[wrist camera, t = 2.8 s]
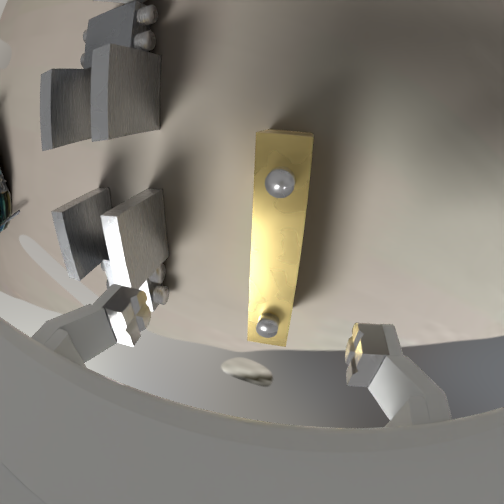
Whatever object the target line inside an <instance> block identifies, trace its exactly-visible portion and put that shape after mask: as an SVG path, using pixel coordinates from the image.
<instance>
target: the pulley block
mask: <svg viewBox="0 0 504 504" xmlns="http://www.w3.org/2000/svg"><path fill="white" fill-rule="evenodd" d="M5 182H6V180H4V177H3V174H2V172H1V169H0V232H1V231H2V230H5V229H6V228H7V227H8V225H9V222H10V220H11V219H12V218H14V217H15V216H16V215H18V214H19V212H20V210H18V211H17V212H16V213H14V214H13V215H12V216H11V194H10V192H9V190H8V188H7V185H6V183H5Z"/></svg>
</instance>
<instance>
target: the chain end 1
mask: <svg viewBox="0 0 504 504" xmlns="http://www.w3.org/2000/svg"><path fill="white" fill-rule="evenodd" d="M157 19H158V11H157V8H156V7H155V6H154V5H149V6H146V5H144V4H142V3H140V2H138V1H133V2H130V3H128V4H125V5H122V6H120V7H117V8H115V9H112V10H110V11H107V12H105V13H103V14H101V15H98V16H96V17H94V18H92V19H90V20H89V22H88V29H86V30H85V32H84V34H83V40H84V42H85V43H86V45H85V53H83V54H82V56H81V65H82V67H83V68H84V69H51V70H49V71H47V72H45V73H43V74H41V86H40V124H41V141H42V151H45V150H49V149H53V148H57V147H60V146H64V145H67V144H71V143H75V142H79V141H82V140H87V139H91V138H92V142H93V141H100V140H108V139H113V138H117V137H122V136H127V135H132V134H137V133H142V132H148V131H153V130H160V74H161V56H160V55H157V54H153V53H150V52H148V51H149V50H152V49H154V47H155V44H156V38H155V35H154V33H153V32H152V31H150V27H151V24H152V23H155V22H156V21H157Z"/></svg>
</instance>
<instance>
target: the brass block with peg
mask: <svg viewBox="0 0 504 504" xmlns="http://www.w3.org/2000/svg"><path fill="white" fill-rule="evenodd" d="M313 139H314V137H313V133H308V132H298V131H288V130H275V129H267V130H263V131H259V132H256V146H255V170H254V193H253V217H252V241H251V265H250V289H249V314H248V338H247V341H253V342H259V343H265V344H271V345H277V346H284V347H286V341H287V336H288V330H289V325H290V319H291V313H292V307H293V301H294V295H295V289H296V282H297V276H298V269H299V262H300V255H301V248H302V241H303V233H304V225H305V217H306V209H307V200H308V191H309V182H310V172H311V162H312V150H313Z"/></svg>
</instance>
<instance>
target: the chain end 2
mask: <svg viewBox="0 0 504 504" xmlns="http://www.w3.org/2000/svg"><path fill="white" fill-rule="evenodd" d="M52 216H53V221H54V225H55V229H56V233H57V237H58V241H59V245H60V248H61V252H62V255H63V259H64V262H65V265H66V268H67V272H68V275H69V277H70V278H73V279H76V280H79V281H80V280H81V279H83V278H84V277H85V276H86V275H87V274H88V273H89V272H90V271H92V270H93V269H94V268H95V267H96V266H97V265H99V264H100V263H101V268H102V270H103V271H106V275H107V278H108V280H107V289H108V288H109V287H110V286H111V285H112V284H119V285H122V286H127V287H131V288H135V289H139V290H143V291H145V292H146V295H147V298H148V299H147V301H146V304H147V305H148V306H149V307H150V311H153V312H154V310H155V309H156V307H157V306H158V305H159V304H163V305H164V304H166V302H167V300H168V297H169V289H168V287H166V286H163V285H162V282H163V280H164V278H165V273H166V269H165V266H164V265H163V264H162V263H163V262H164V261H165V260H166V259H167V258H168V256H169V250H168V242H167V233H166V223H165V213H164V201H163V189H146V190H144V191H143V192H141V193H139V194H137V195H135V196H133V197H132V198H130V199H128V200H126V201H124V202H123V203H121V204H119V205H117V206H116V207H114V208H112V206H111V199H110V191H109V188H97V189H95V190H93V191H91V192H88V193H86V194H84V195H82V196H80V197H78V198H76V199H74V200H72V201H70V202H68V203H67V204H65V205H63V206H61V207H59V208H57V209H55V210H53V211H52Z"/></svg>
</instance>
